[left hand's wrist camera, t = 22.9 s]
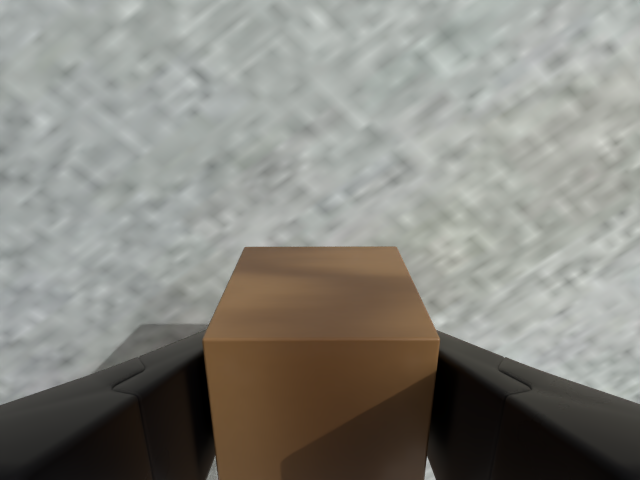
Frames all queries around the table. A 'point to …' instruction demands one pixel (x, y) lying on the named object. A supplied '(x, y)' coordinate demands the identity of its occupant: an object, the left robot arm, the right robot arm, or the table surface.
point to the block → (321, 367)
